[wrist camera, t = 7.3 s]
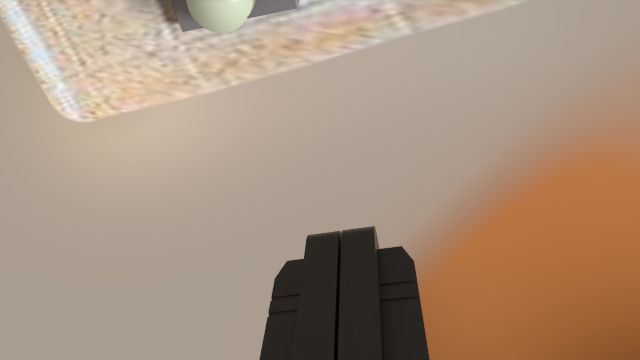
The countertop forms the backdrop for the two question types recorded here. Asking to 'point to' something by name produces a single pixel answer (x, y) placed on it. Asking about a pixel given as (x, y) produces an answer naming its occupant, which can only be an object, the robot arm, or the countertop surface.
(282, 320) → the robot arm
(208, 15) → the sage button
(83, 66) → the countertop surface
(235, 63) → the countertop surface
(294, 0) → the button panel
